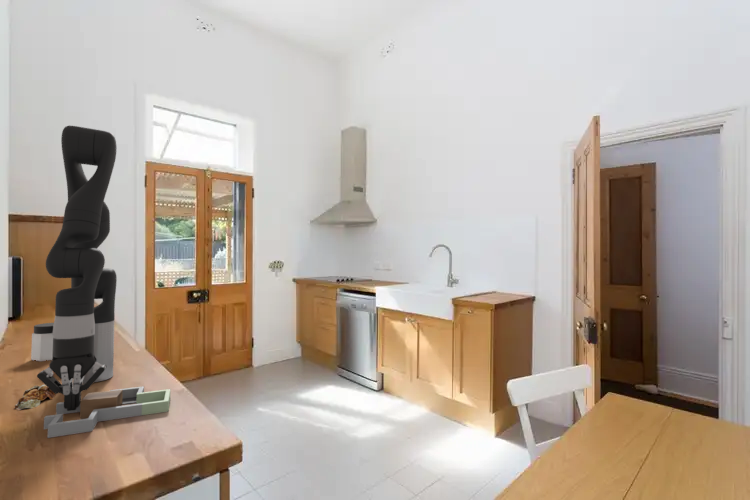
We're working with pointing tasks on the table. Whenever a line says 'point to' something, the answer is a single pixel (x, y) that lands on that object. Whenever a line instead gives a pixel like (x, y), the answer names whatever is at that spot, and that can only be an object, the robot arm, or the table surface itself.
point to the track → (109, 411)
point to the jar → (42, 342)
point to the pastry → (34, 397)
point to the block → (99, 401)
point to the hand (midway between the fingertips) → (72, 409)
